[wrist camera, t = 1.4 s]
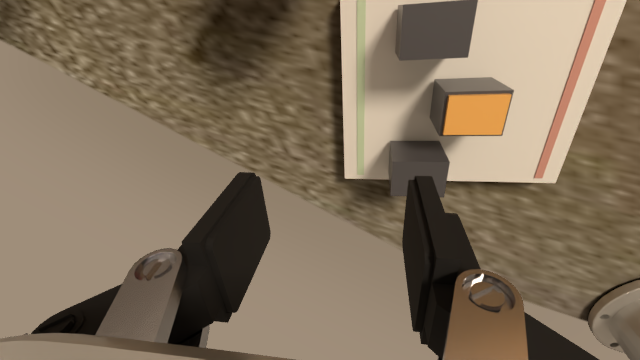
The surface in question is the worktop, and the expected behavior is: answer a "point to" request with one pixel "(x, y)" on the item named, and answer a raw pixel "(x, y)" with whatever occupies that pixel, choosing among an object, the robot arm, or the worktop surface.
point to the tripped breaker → (470, 106)
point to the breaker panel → (467, 62)
